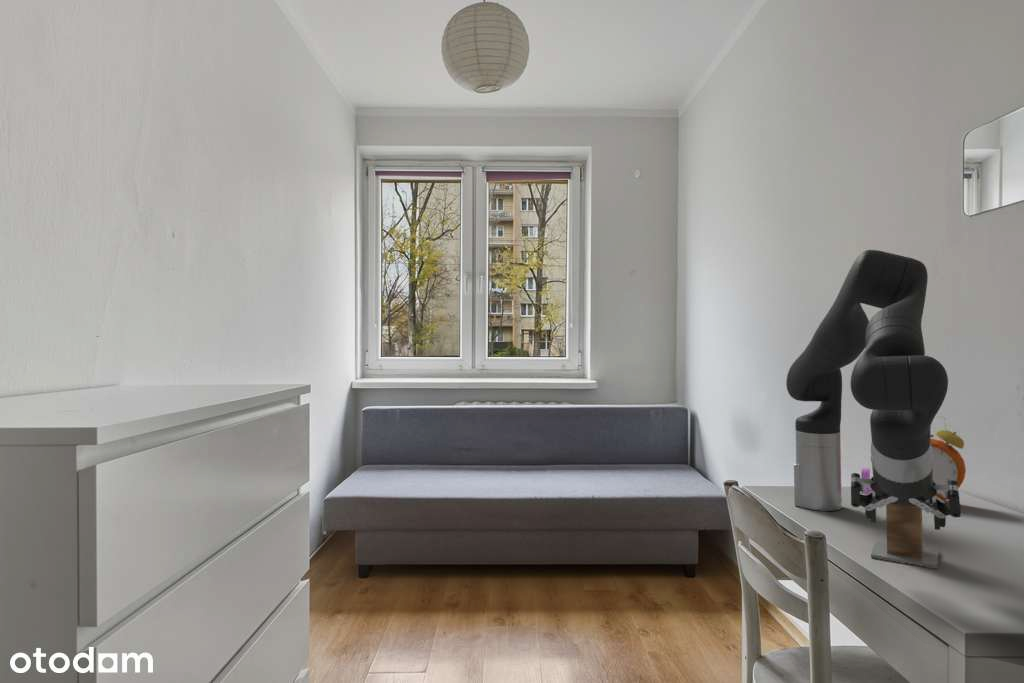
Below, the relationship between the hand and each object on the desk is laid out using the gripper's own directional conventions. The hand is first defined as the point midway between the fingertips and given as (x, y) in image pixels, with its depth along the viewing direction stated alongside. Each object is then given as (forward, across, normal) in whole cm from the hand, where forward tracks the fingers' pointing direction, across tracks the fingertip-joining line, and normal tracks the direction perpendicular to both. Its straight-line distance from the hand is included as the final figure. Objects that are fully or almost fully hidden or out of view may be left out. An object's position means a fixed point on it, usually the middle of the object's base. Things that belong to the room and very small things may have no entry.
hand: (904, 521), depth 97 cm
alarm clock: (+45, -5, -33) cm, 56 cm away
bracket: (+48, +6, -37) cm, 61 cm away
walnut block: (+14, 0, -2) cm, 14 cm away
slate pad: (+14, 0, -2) cm, 14 cm away
